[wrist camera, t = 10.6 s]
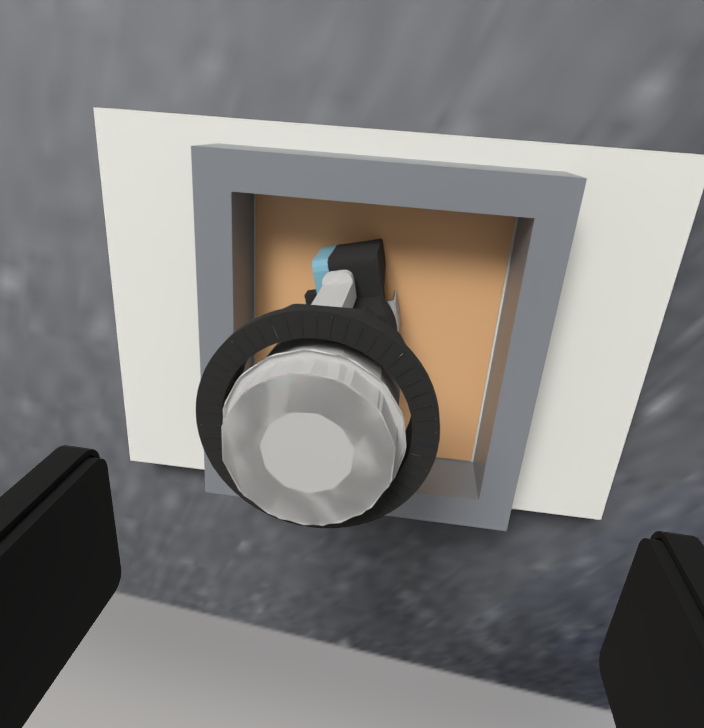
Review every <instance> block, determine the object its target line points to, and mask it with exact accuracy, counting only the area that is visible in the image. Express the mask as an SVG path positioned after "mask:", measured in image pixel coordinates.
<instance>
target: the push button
mask: <svg viewBox="0 0 704 728" xmlns="http://www.w3.org/2000/svg"><path fill="white" fill-rule="evenodd" d="M385 269H386V261H385V253H384V245H383V240H382V239H375V240H369V241H361V242H354V243H347V244H339V245H332V246H325V247H322V248H321V250H320V251H319V252H318V254H317V255H316V256H315V257H314V259H313V261H312V270H313V276H314V281H315V287H316V289H313V290H307V292H306V293H305V295H304V297H305V302H306V304H292V305H289V306H287V307H285V308H283V309H279V310H275V311H272V312H269V313H266V314H263V315H261V316H259V317H257V318H255V319H253V320H251V321H249V322H248V323H246V324H245V325H243V326H241V327H240V328H239V329H238V330H236V331H235V332H234V333H233V334H232V335H231V336H230V337H229V338H228V339H227V340H226V341H225V342H224V343H223V344H222V345H221V346H220V347H219V348H218V350H217V351H216V352H215V354H214V355H213V356H212V357H211V359H210V361H209V363H208V364H207V366H206V368H205V370H204V372H203V375H202V377H201V380H200V383H199V387H198V391H197V397H196V423H197V428H198V433H199V437H200V440H201V443H202V446H203V449H204V451H205V453H206V455H207V457H208V459H209V461H210V463H211V464H212V466H213V468H214V469H215V470H216V472H217V473H218V475H219V476H220V477H221V478H222V480H223V481H224V482H225V483H226V484H227V485H228V486H229V487H230V488H231V489H232V490H233V491H234V492H235V493H236V494H237V495H239V496H240V497H241V498H242V499H243V500H245V501H246V502H248V503H249V504H251V505H252V506H254V507H255V508H257V509H259V510H261V511H262V512H264V513H266V514H268V515H271V516H273V517H275V518H278V519H280V520H283V521H286V522H289V523H293V524H297V525H302V526H308V527H316V528H341V527H349V526H355V525H360V524H363V523H367V522H370V521H373V520H375V519H378V518H380V517H382V516H384V515H386V514H388V513H390V512H392V511H393V510H395V509H396V508H398V507H399V506H401V505H402V504H403V503H405V502H406V501H407V500H408V499H409V498H410V497H411V496H412V495H413V494H414V493H415V492H416V491H417V490H418V489H419V488H420V486H421V485H422V484H423V482H424V481H425V479H426V478H427V476H428V474H429V473H430V470H431V468H432V466H433V464H434V461H435V458H436V455H437V452H438V446H439V441H440V416H439V406H438V401H437V396H436V393H435V390H434V387H433V384H432V382H431V380H430V378H429V375H428V373H427V372H426V370H425V368H424V367H423V365H422V363H421V362H420V361H419V359H418V358H417V357H416V355H415V354H414V353H413V352H412V350H411V349H410V348H409V347H408V346H407V345H406V344H405V342H404V340H403V338H402V336H401V334H400V333H399V332H398V331H399V328H400V309H399V302H398V294H397V290H394V297H393V300H392V301H386V300H385V291H384V283H385ZM276 343H277V344H276ZM274 344H276V345H275V346H274V347H273V349H272V350H271V351H270V352H269V353H268V355H267V356H266V357H265V358H264V359H263V360H262V361H260V362H259V363H257V364H256V365H254V366H253V367H251V368H250V369H248V370H247V371H245V372H244V368H245V364H246V362H247V360H248V359H249V358H250V357H252V356H253V355H254V354H256V353H257V352H259V351H261V350H262V349H264V348H266V347H268V346H271V345H274ZM243 372H244V373H243ZM400 389H401V391H402V392H403V394H404V397H405V399H406V401H407V404H408V407H409V410H410V414H411V417H410V421H409V423H408V426H407V428H406V430H405V422H404V417H403V414H402V411H401V410H400V408H399V396H400Z"/></svg>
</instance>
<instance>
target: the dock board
mask: <svg viewBox="0 0 704 728" xmlns="http://www.w3.org/2000/svg"><path fill="white" fill-rule="evenodd" d="M94 117H95V127H96V136H97V146H98V155H99V165H100V175H101V184H102V194H103V203H104V213H105V222H106V232H107V241H108V251H109V260H110V270H111V279H112V289H113V298H114V308H115V317H116V327H117V336H118V346H119V356H120V365H121V375H122V384H123V394H124V403H125V413H126V422H127V432H128V441H129V451H130V460H133V461H140V462H148V463H156V464H164V465H172V466H180V467H188V468H196V469H203V470H205V492H209V493H216V494H224V495H232V496H239V495H237V494H236V493H235V492H234V491H233V490H232V489H231V488H230V487H229V486H228V485H227V484H226V483H225V482H224V481H223V480H222V478H221V477H220V476H219V475H218V473H217V472H216V470H215V469H214V468H213V466H212V464H211V463H210V461H209V459H208V457H207V455H206V453H205V451H204V449H203V446H202V443H201V440H200V437H199V433H198V428H197V423H196V397H197V391H198V387H199V383H200V380H201V377H202V375H203V372H204V370H205V368H206V366H207V364H208V363H209V361H210V359H211V357H212V356H213V355H214V354H215V352H216V351H217V350H218V348H219V347H220V346H221V345H222V344H223V343H224V342H225V341H226V340H227V339H228V338H229V337H230V336H231V335H232V334H233V333H234V332H235V331H236V330H238V329H239V328H240V327H241V326H243V325H245V324H246V323H248V322H249V321H251V320H253V319H255V318H257V317H259V316H261V315H263V314H266V313H269V312H272V311H275V310H279V309H283V308H285V307H287V306H289V305H292V304H306V302H305V297H304V295H305V293H306V292H307V290H313V289H316V287H315V281H314V276H313V270H312V261H313V259H314V257H315V256H316V255H317V254H318V252H319V251H320V250H321V248H322V247H325V246H332V245H339V244H347V243H354V242H361V241H369V240H375V239H382V240H383V245H384V253H385V261H386V269H385V283H384V291H385V300H386V301H392V300H393V297H394V290H397V294H398V302H399V309H400V328H399V331H398V332H399V333H400V334H401V336H402V338H403V340H404V342H405V344H406V345H407V346H408V347H409V348H410V349H411V350H412V352H413V353H414V354H415V355H416V357H417V358H418V359H419V361H420V362H421V363H422V365H423V367H424V368H425V370H426V372H427V373H428V375H429V378H430V380H431V382H432V384H433V387H434V390H435V393H436V396H437V401H438V406H439V416H440V441H439V446H438V452H437V455H436V458H435V461H434V464H433V466H432V468H431V470H430V473H429V474H428V476H427V478H426V479H425V481H424V482H423V484H422V485H421V486H420V488H419V489H418V490H417V491H416V492H415V493H414V494H413V495H412V496H411V497H410V498H409V499H408V500H407V501H406V502H405V503H403V504H402V505H401V506H399V507H398V508H396V509H395V510H393V511H392V512H390V513H388V514H386V516H393V517H401V518H409V519H416V520H424V521H432V522H440V523H447V524H455V525H463V526H470V527H478V528H486V529H493V530H501V531H507V527H508V522H509V518H510V513H511V509H519V510H527V511H535V512H543V513H550V514H558V515H566V516H574V517H582V518H590V519H598V520H601V517H602V514H603V511H604V507H605V504H606V501H607V498H608V494H609V491H610V488H611V485H612V482H613V478H614V475H615V472H616V469H617V465H618V462H619V459H620V456H621V453H622V449H623V446H624V443H625V440H626V437H627V433H628V430H629V427H630V424H631V420H632V417H633V414H634V411H635V408H636V404H637V401H638V398H639V395H640V391H641V388H642V385H643V382H644V379H645V375H646V372H647V369H648V366H649V362H650V359H651V356H652V353H653V350H654V346H655V343H656V340H657V337H658V333H659V330H660V327H661V324H662V321H663V317H664V314H665V311H666V308H667V304H668V301H669V298H670V295H671V292H672V288H673V285H674V282H675V279H676V275H677V272H678V269H679V266H680V263H681V259H682V256H683V253H684V250H685V246H686V243H687V240H688V237H689V234H690V230H691V227H692V224H693V221H694V217H695V214H696V211H697V208H698V205H699V201H700V198H701V195H702V192H703V189H704V155H700V154H689V153H677V152H664V151H651V150H638V149H625V148H613V147H600V146H587V145H574V144H561V143H548V142H536V141H523V140H510V139H497V138H484V137H471V136H459V135H446V134H433V133H420V132H407V131H394V130H382V129H369V128H356V127H343V126H330V125H317V124H305V123H292V122H279V121H266V120H253V119H241V118H228V117H215V116H202V115H189V114H176V113H164V112H151V111H138V110H125V109H111V108H94ZM276 344H277V343H276ZM276 344H274V345H271V346H268V347H266V348H264V349H262V350H261V351H259V352H257V353H256V354H254V355H253V356H252V357H250V358H249V359H248V360H247V362H246V364H245V368H244V372H245V371H247V370H248V369H250V368H251V367H253V366H254V365H256V364H257V363H259V362H260V361H262V360H263V359H264V358H265V357H266V356H267V355H268V353H269V352H270V351H271V350H272V349H273V347H274V346H275V345H276ZM244 372H243V373H244ZM399 408H400V410H401V411H402V414H403V417H404V422H405V430H406V428H407V426H408V423H409V421H410V417H411V414H410V410H409V407H408V404H407V401H406V399H405V397H404V394H403V392H402V391H401V389H400V396H399ZM239 497H240V496H239Z"/></svg>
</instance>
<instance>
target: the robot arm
mask: <svg viewBox="0 0 704 728" xmlns="http://www.w3.org/2000/svg"><path fill="white" fill-rule="evenodd" d="M120 578H121V565H120V557H119V550H118V542H117V535H116V527H115V520H114V512H113V505H112V497H111V490H110V482H109V475H108V467H107V463H106V461H105V460H104V459H100V457H99V454H98V452H97V451H96V450H93V449H88V448H81V447H74V446H67V445H64V446H60V447H59V448H57V449H56V450H54V451H53V452H52V453H51V454H50V455H49V456H47V457H46V458H45V459H44V460H43V461H42V462H41V463H39V464H38V465H37V466H36V467H35V468H34V469H32V470H31V471H30V472H29V473H28V474H27V475H25V476H24V477H23V478H22V479H21V480H20V481H18V482H17V483H16V484H15V485H14V486H13V487H11V488H10V489H9V490H8V491H7V492H6V493H4V494H3V495H2V496H1V497H0V728H22V726H23V725H24V724H25V722H26V721H27V719H28V718H29V716H30V715H31V714H32V712H33V711H34V709H35V708H36V706H37V705H38V703H39V702H40V701H41V699H42V698H43V696H44V695H45V693H46V692H47V690H48V689H49V687H50V686H51V684H52V683H53V682H54V680H55V679H56V677H57V676H58V674H59V673H60V671H61V670H62V668H63V667H64V665H65V664H66V663H67V661H68V660H69V658H70V657H71V655H72V653H73V652H74V651H75V649H76V648H77V647H78V645H79V644H80V642H81V641H82V639H83V638H84V636H85V635H86V633H87V632H88V631H89V629H90V628H91V626H92V625H93V623H94V622H95V620H96V619H97V617H98V616H99V614H100V613H101V612H102V610H103V608H104V607H105V606H106V604H107V603H108V601H109V600H110V598H111V597H112V596H113V594H114V593H115V591H116V589H117V587H118V585H119V581H120ZM599 665H600V672H601V677H602V680H603V684H604V687H605V690H606V694H607V697H608V701H609V704H610V708H611V711H612V714H613V718H614V721H615V724H616V728H704V546H703V544H702V543H701V541H700V540H699V539H698V538H696V537H694V536H690V535H683V534H676V533H669V532H662V531H657V532H655V533H654V534H653V535H652V536H651V538H650V539H648V538H644V539H642V540H641V541H640V543H639V545H638V548H637V551H636V554H635V557H634V559H633V562H632V565H631V568H630V570H629V573H628V576H627V579H626V581H625V584H624V587H623V590H622V593H621V595H620V598H619V601H618V604H617V606H616V609H615V612H614V615H613V618H612V620H611V623H610V626H609V629H608V631H607V634H606V637H605V640H604V642H603V645H602V648H601V652H600V658H599Z"/></svg>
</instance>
